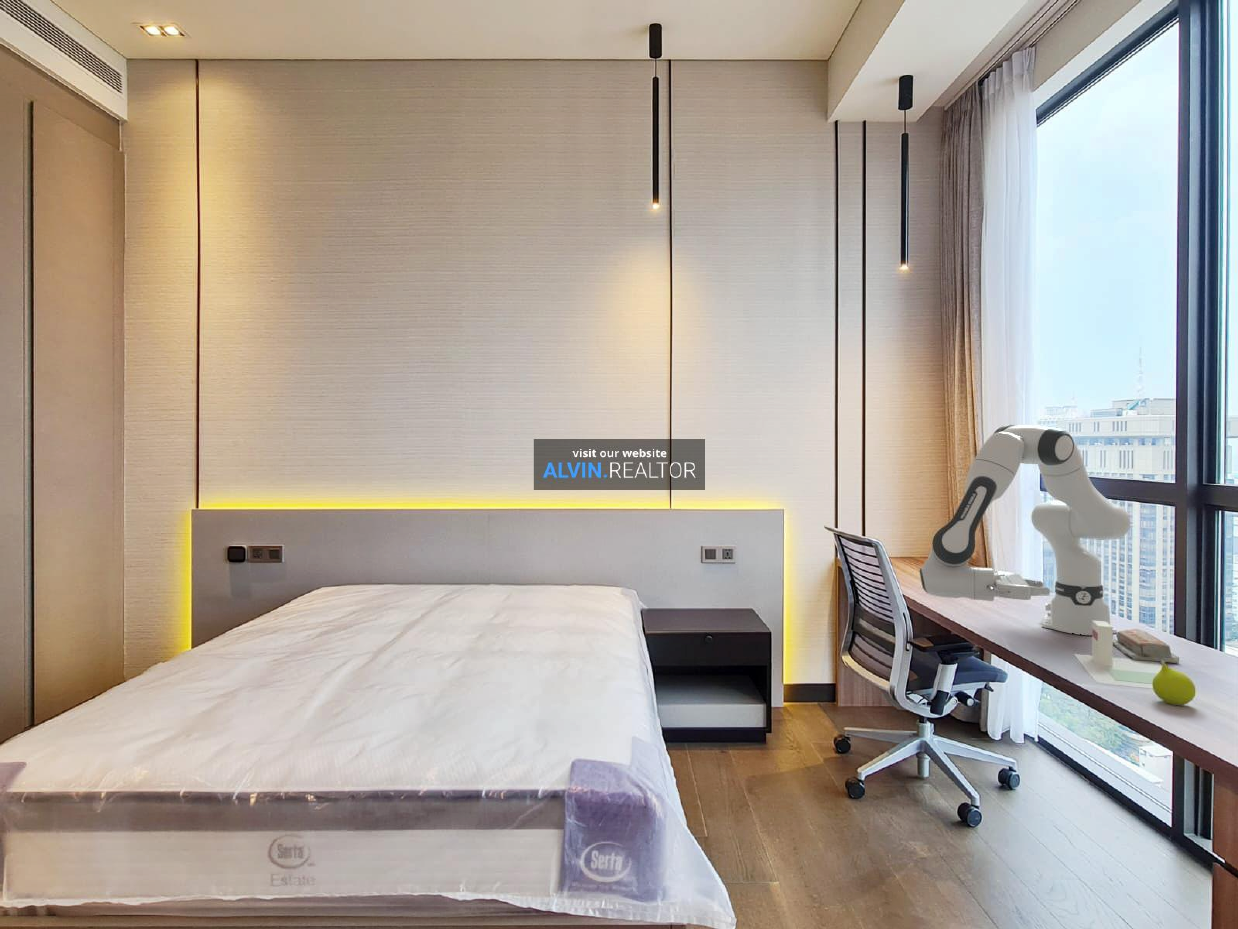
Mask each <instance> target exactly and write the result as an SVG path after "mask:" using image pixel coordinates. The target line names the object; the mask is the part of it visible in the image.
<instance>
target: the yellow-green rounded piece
mask: <svg viewBox="0 0 1238 929" xmlns="http://www.w3.org/2000/svg"><path fill="white" fill-rule="evenodd" d="M1159 656H1160V655H1159ZM1160 664H1161V665H1162V669H1161V670H1160V672H1159V673H1158V674H1157V675H1156V676H1155V677H1154V679H1153V683H1152V685H1153V689H1152V690H1153V691H1154V693H1155V695H1156V697H1158V698H1159V699H1160V700H1161V701H1163V702H1165V703H1167V704H1170V705H1174V706H1183V705H1186V704H1187V705H1188V704H1189V703H1190V702H1191V701H1193V699H1194V698H1195V697H1196V693H1197V692H1196V687H1195V686H1196V685H1195V684H1194V682H1193V681H1192V679H1191V678H1190V677H1189V676H1188V675H1187V674H1185V673H1183V672H1181V671H1178V670H1175V669H1173V668H1170V667H1169V666H1167V664H1166V662H1164V661H1161V662H1160Z"/></svg>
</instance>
